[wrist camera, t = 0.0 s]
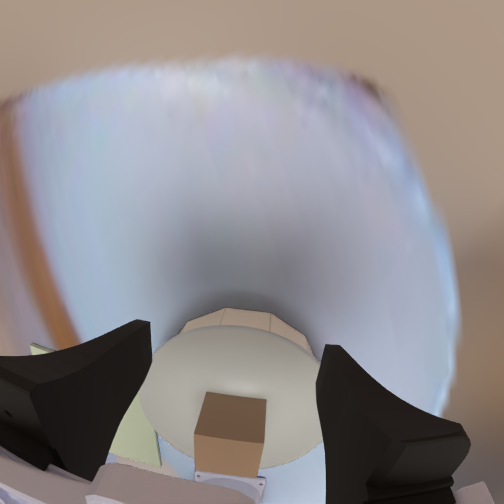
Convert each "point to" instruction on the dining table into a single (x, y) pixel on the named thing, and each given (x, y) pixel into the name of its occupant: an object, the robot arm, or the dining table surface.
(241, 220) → the dining table surface
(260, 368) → the cover
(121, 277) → the dining table surface
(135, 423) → the mat
